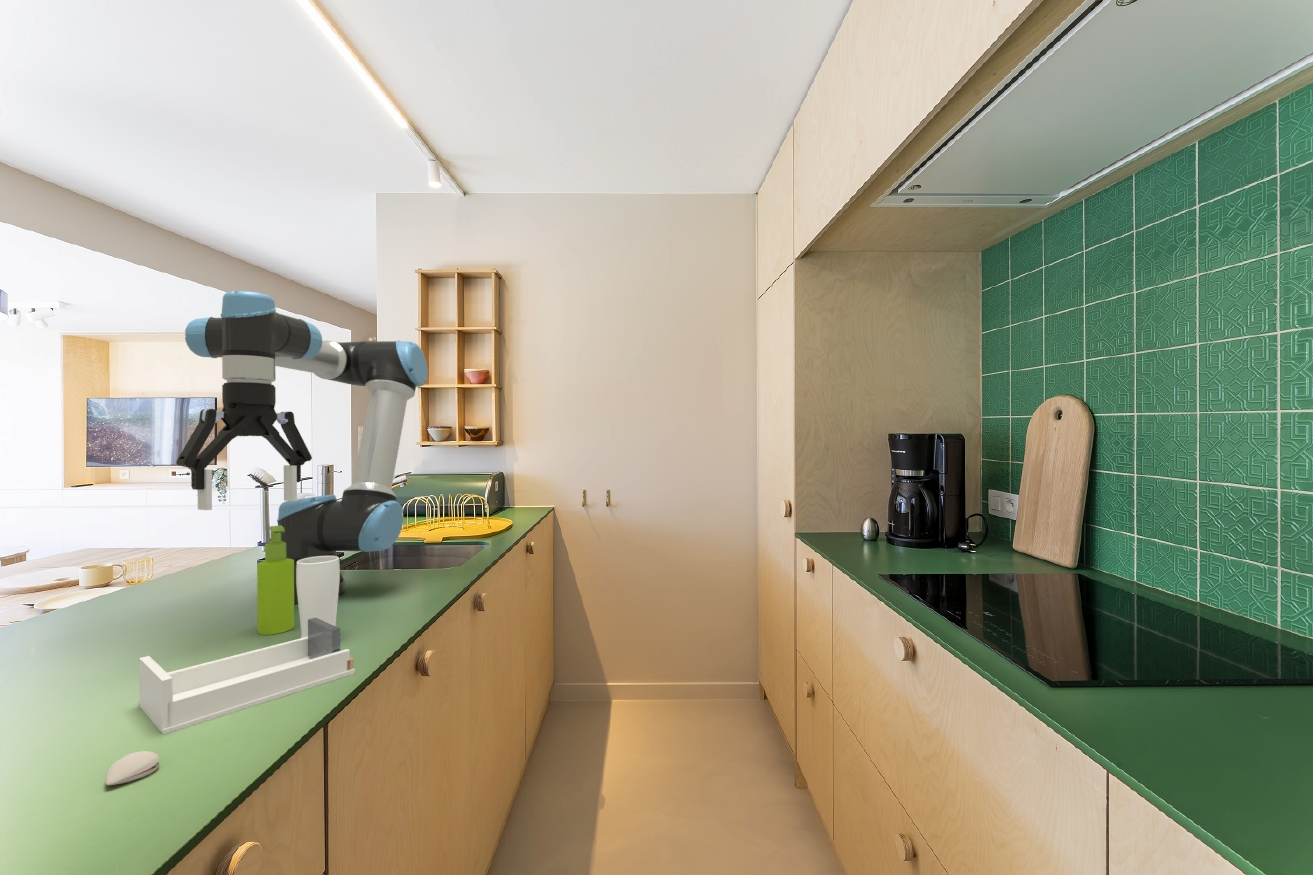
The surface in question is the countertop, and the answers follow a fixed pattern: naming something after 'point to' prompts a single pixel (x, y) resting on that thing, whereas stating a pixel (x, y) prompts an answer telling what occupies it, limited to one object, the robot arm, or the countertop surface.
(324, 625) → the pusher plate
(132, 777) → the clam shell
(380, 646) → the countertop surface
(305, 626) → the white tumbler cup
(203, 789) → the countertop surface
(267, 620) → the soap dispenser
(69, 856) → the countertop surface
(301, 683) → the pusher lane
